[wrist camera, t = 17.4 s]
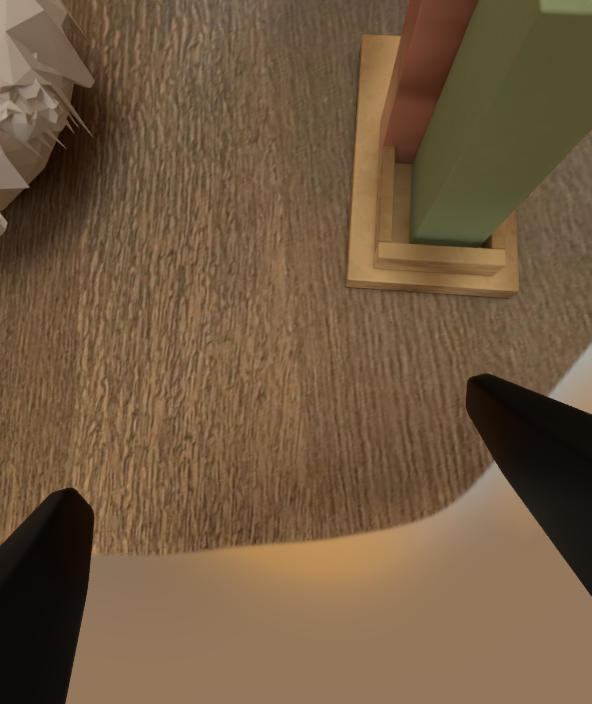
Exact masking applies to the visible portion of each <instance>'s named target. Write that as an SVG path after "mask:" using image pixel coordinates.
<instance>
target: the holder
mask: <svg viewBox="0 0 592 704" xmlns="http://www.w3.org/2000/svg"><path fill="white" fill-rule="evenodd" d="M477 2H478V0H410V1H409V5H408V9H407V13H406V17H405V21H404V26H403V30H402V34H401V36H387V35H362V39H361V46H360V56H359V72H358V89H357V105H356V121H355V137H354V154H353V170H352V186H351V202H350V219H349V235H348V251H347V267H346V284H345V286H346V287H355V288H370V289H384V290H399V291H413V292H428V293H442V294H457V295H471V296H486V297H500V298H509V297H511V296H513V295H514V294H516V293H517V292H519V273H518V245H517V216H516V209H515V210H514V211H513V212H512V213H511V214H510V215H509V216H508V218H507V219H506V220H505V221H504V222H503V223H502V224H501V225H500V226H499V227H498V228H497V229H496V230H495V231H494V232H493V233H492V234H491V235H490V236H489V238H488V239H487V240H486V241H485V242H484V243H483V244H482V245H481V246H480V247H479V248H469V247H454V246H438V245H422V244H409V239H410V206H411V173H412V164H413V162H414V159H415V157H416V154H417V152H418V149H419V147H420V144H421V142H422V139H423V137H424V134H425V132H426V129H427V127H428V124H429V122H430V119H431V117H432V114H433V112H434V109H435V107H436V104H437V102H438V99H439V97H440V94H441V92H442V89H443V87H444V84H445V82H446V79H447V77H448V74H449V72H450V69H451V67H452V64H453V62H454V59H455V57H456V54H457V52H458V49H459V47H460V44H461V42H462V39H463V37H464V34H465V32H466V29H467V27H468V24H469V22H470V19H471V17H472V14H473V12H474V9H475V7H476V4H477Z"/></svg>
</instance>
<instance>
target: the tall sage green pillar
mask: <svg viewBox="0 0 592 704" xmlns="http://www.w3.org/2000/svg"><path fill="white" fill-rule="evenodd" d="M591 129H592V0H478V2H477V4H476V7H475V9H474V12H473V14H472V17H471V19H470V22H469V24H468V27H467V29H466V32H465V34H464V37H463V39H462V42H461V44H460V47H459V49H458V52H457V54H456V57H455V59H454V62H453V64H452V67H451V69H450V72H449V74H448V77H447V79H446V82H445V84H444V87H443V89H442V92H441V94H440V97H439V99H438V102H437V104H436V107H435V109H434V112H433V114H432V117H431V119H430V122H429V124H428V127H427V129H426V132H425V134H424V137H423V139H422V142H421V144H420V147H419V149H418V152H417V154H416V157H415V159H414V162H413V164H412V173H411V206H410V239H409V244H422V245H438V246H454V247H469V248H479V247H480V246H481V245H482V244H483V243H484V242H485V241H486V240H487V239H488V238H489V236H490V235H491V234H492V233H493V232H494V231H495V230H496V229H497V228H498V227H499V226H500V225H501V224H502V223H503V222H504V221H505V220H506V219H507V218H508V216H509V215H510V214H511V213H512V212H513V211H514V210H515V209H516V208H517V207H518V206H519V205H520V204H521V203H522V202H523V201H524V200H525V199H526V198H527V196H528V195H529V194H530V193H531V192H532V191H533V190H534V189H535V188H536V187H537V186H538V185H539V184H540V183H541V182H542V181H543V180H544V179H545V178H546V176H547V175H548V174H549V173H550V172H551V171H552V170H553V169H554V168H555V167H556V166H557V165H558V164H559V163H560V162H561V161H562V160H563V159H564V158H565V156H566V155H567V154H568V153H569V152H570V151H571V150H572V149H573V148H574V147H575V146H576V145H577V144H578V143H579V142H580V141H581V140H582V139H583V138H584V137H585V135H586V134H587V133H588V132H589V131H590V130H591Z"/></svg>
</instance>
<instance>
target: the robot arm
mask: <svg viewBox="0 0 592 704" xmlns="http://www.w3.org/2000/svg"><path fill="white" fill-rule="evenodd" d="M466 409H467V412H468V414H469V416H470V418H471V420H472V421H473V423H474V425H475V427H476V428H477V430H478V432H479V434H480V435H481V437H482V439H483V441H484V442H485V444H486V446H487V448H488V449H489V451H490V453H491V455H492V456H493V458H494V460H495V462H496V463H497V465H498V467H499V468H500V470H501V471H502V473H503V475H504V476H505V477H506V479H507V480H508V482H509V483H510V484H511V486H512V487H513V489H514V490H515V492H516V493H517V494H518V496H519V497H520V498H521V500H522V501H523V502H524V504H525V505H526V507H527V508H528V509H529V511H530V512H531V513H532V515H533V516H534V518H535V519H536V520H537V522H538V523H539V525H540V526H541V527H542V528H543V530H544V531H545V533H546V534H547V536H548V537H549V538H550V540H551V541H552V542H553V544H554V545H555V547H556V548H557V549H558V551H559V552H560V553H561V555H562V556H563V558H564V559H565V560H566V562H567V563H568V564H569V566H570V567H571V569H572V570H573V571H574V573H575V574H576V575H577V577H578V578H579V580H580V581H581V582H582V584H583V585H584V587H585V588H586V589H587V591H588V592H589V594H590V595H591V596H592V414H589V413H587V412H584V411H582V410H579V409H577V408H574V407H572V406H569V405H567V404H564V403H562V402H559V401H556V400H554V399H551V398H549V397H546V396H544V395H541V394H539V393H536V392H534V391H531V390H529V389H526V388H524V387H521V386H519V385H516V384H514V383H511V382H509V381H506V380H504V379H501V378H499V377H496V376H494V375H491V374H487V373H485V374H481V375H477V376H473V377H471V378H469V379H468V381H467V392H466ZM93 529H94V512H93V510H92V508H91V506H90V505H89V504H88V503H87V502H86V501H85V499H84V498H83V497H82V496H81V495H80V494H79V493H78V491H77V490H76V489H73V488H66V489H63V490H59V491H55V492H53V493H51V494H50V495H49V496H48V497H47V498H46V499H45V500H44V501H43V502H42V503H41V504H40V505H39V506H38V507H37V508H36V509H35V510H34V511H33V512H32V513H31V514H30V516H29V517H28V518H27V519H26V520H25V521H24V522H23V523H22V524H21V525H20V526H19V527H18V528H17V529H16V530H15V531H14V532H13V533H12V534H11V535H10V536H9V537H8V538H7V540H6V541H5V542H4V543H3V544H2V545H1V546H0V704H65V703H66V698H67V693H68V688H69V682H70V677H71V672H72V667H73V662H74V657H75V652H76V647H77V642H78V636H79V632H80V627H81V621H82V616H83V611H84V606H85V601H86V595H87V589H88V581H89V572H90V571H89V570H90V560H91V550H92V540H93Z"/></svg>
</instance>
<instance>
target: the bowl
mask: <svg viewBox="0 0 592 704" xmlns="http://www.w3.org/2000/svg"><path fill="white" fill-rule="evenodd" d="M66 28H67V29H69V30H71V31H72V32H74V33H76V34H77V35H79V36H80V37H82V38H83V39H85V40H87V41H88V42H89V40H88V39H87V37H86V36H85V35H84V33H83V32H82V30H81V29H80V27H79V26H78V24H77V23H76V21H75V20H74V18H73V17H72V15H71V14H70V12H69V11H68V9H67V8H66V6H65V5H64V4H63V2H62V1H61V0H0V211H2V210H4V209H5V208H6V207H7V206H8V205H9V204H10V203H11V202H12V201H13V200H14V199H15V198H16V197H17V196H18V195H19V194H20V193H21V192H22V190H23V189H24V188H30V187H29V186H28V184H29V183H30V182H31V181H32V180H33V179H34V178H35V177H36V176H37V175H38V174H39V173H40V172H41V171H42V170H43V169H44V168H45V166H46V164H47V161H48V159H49V157H50V154H51V152H52V150H53V147H54V145H55V143H56V141H57V142H58V143H59V144H61V145H62V146H63V144H62V143H61V142H60V141H59V140H58V139H57V138H58V136H59V133H60V131H62V130H63V128H64V127H65V125H67V126H68V127H69V128H70V129H71V131H72V132H73V130H72V128H71V126H70V124H69V122H68V120H67V116H69V117H70V119H71V120H72V121H73V122H74V123H75V124H76V122H75V121H74V119H73V117H72V116H71V114H70V113H69V111H70V112H71V113H72V114H73V116H74V117H75V118H76V119H77V120H78V121H79V122H80V123H81V125H82V126H83V127H84V128H85V129H86V130H87V131H88V132H89V133H90V131H89V130H88V128H87V127H86V126H85V124H84V123H83V121H82V120H81V118H80V117H79V115H78V114H77V112H76V111H75V109H74V108H73V107H72V105H71V104H70V103H71V98H72V93H73V88H74V83H75V84H78V85H80V86H83V87H87V88H91V87H92V85H93V83H94V82H95V80H94V79H93V77H92V76H91V74H90V73H89V71H88V70H87V68H86V66H85V65H84V63H83V62H82V60H81V59H80V57H79V56H78V54H77V52H76V51H75V49H74V48H73V46H72V45H71V43H70V42H69V40H68V38H67V37H66V35H65V33H64V31H63V30H65V29H66ZM76 126H77V127H78V125H77V124H76ZM78 128H79V127H78ZM73 133H74V132H73ZM74 134H75V133H74ZM90 135H91V136H92V134H91V133H90ZM92 137H93V136H92ZM93 138H94V137H93ZM63 147H64V146H63ZM64 148H65V147H64ZM6 226H7V221H6V220H5V219H4V217H3V216H2V215H1V213H0V235H1V236H2V234H3V233H4V231H5V230H6Z"/></svg>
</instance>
